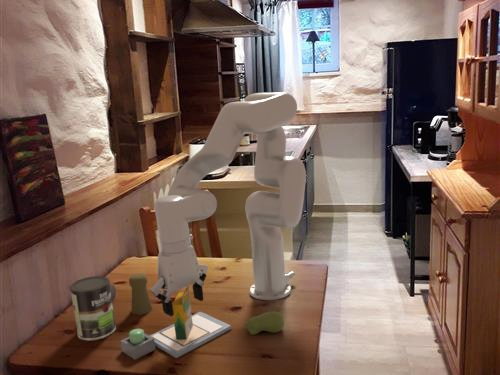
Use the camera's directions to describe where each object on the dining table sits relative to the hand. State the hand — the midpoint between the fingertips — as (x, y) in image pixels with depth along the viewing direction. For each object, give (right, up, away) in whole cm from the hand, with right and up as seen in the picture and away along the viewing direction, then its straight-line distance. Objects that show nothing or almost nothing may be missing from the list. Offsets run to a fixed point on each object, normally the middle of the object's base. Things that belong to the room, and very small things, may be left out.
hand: (184, 306), depth 131 cm
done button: (-11, -9, -4) cm, 15 cm away
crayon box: (0, -7, +1) cm, 7 cm away
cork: (-15, -6, +19) cm, 25 cm away
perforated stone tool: (-27, -6, +21) cm, 35 cm away
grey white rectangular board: (+1, -8, +2) cm, 8 cm away
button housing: (-11, -10, -4) cm, 15 cm away
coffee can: (-25, -9, +8) cm, 28 cm away
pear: (+21, -7, +2) cm, 22 cm away
